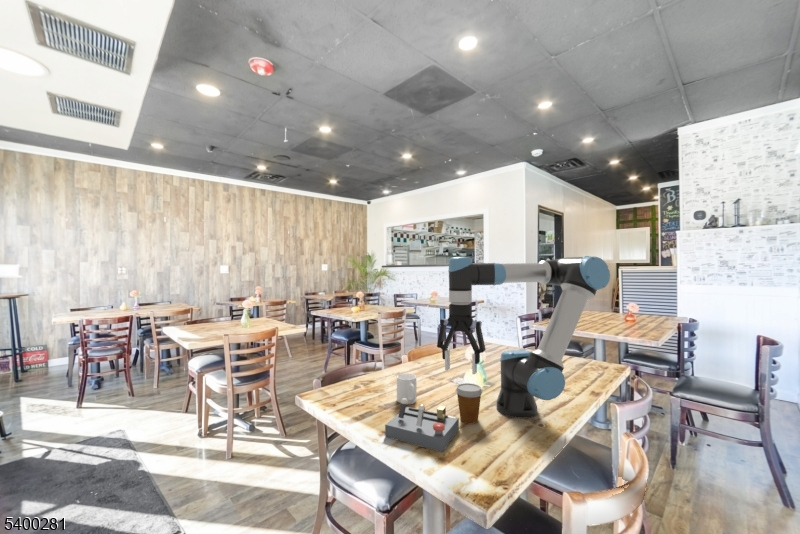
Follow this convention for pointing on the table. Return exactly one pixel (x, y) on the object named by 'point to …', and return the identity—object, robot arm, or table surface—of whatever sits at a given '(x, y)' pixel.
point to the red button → (439, 428)
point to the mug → (406, 388)
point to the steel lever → (420, 415)
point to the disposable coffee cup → (469, 402)
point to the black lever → (402, 408)
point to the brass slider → (441, 412)
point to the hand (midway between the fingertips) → (460, 371)
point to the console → (422, 429)
